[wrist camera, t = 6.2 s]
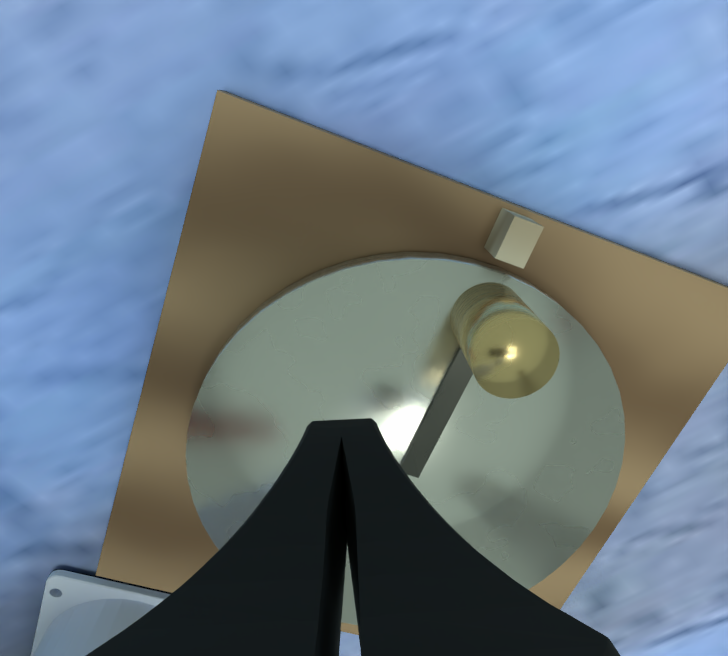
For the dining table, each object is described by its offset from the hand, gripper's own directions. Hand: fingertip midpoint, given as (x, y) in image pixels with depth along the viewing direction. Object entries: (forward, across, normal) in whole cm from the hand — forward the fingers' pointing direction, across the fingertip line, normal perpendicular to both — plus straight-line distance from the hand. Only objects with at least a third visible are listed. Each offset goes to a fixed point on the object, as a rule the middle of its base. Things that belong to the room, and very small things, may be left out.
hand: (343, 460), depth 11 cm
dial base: (+9, -2, +6) cm, 11 cm away
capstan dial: (+8, -2, +6) cm, 10 cm away
